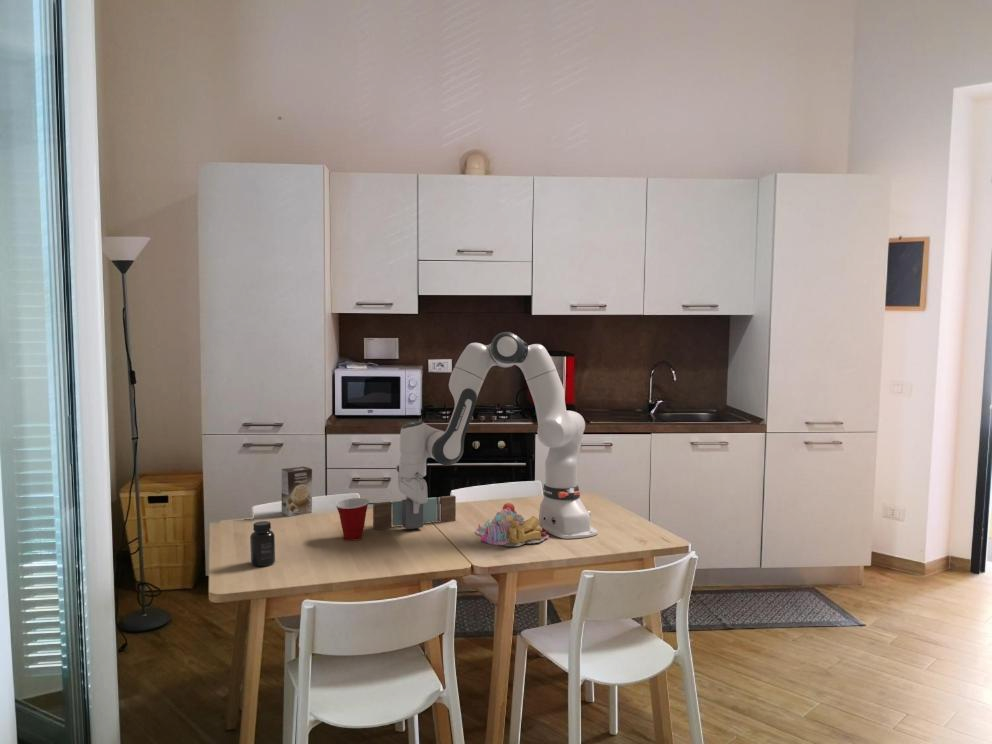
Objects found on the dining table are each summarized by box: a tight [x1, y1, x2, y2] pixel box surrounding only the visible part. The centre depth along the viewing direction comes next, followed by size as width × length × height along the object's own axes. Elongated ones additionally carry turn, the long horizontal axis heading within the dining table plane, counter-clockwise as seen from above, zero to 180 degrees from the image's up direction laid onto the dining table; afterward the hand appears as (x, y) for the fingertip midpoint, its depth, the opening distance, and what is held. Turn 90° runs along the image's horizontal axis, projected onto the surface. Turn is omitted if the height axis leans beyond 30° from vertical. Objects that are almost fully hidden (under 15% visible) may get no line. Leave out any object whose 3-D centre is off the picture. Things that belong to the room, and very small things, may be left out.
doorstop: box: [401, 498, 424, 530], centre depth 269 cm, size 4×6×9 cm, turn 114°
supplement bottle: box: [249, 520, 276, 568], centre depth 233 cm, size 7×7×12 cm
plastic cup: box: [334, 497, 370, 541], centre depth 259 cm, size 11×11×12 cm
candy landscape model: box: [475, 502, 551, 547], centre depth 263 cm, size 25×24×9 cm
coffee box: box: [281, 466, 313, 517], centre depth 288 cm, size 9×6×16 cm
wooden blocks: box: [372, 495, 457, 530], centre depth 275 cm, size 2×29×9 cm, turn 114°
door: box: [391, 496, 441, 527], centre depth 275 cm, size 1×17×8 cm, turn 114°
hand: (412, 510), depth 269 cm, fingers closed on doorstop, 4 cm apart
